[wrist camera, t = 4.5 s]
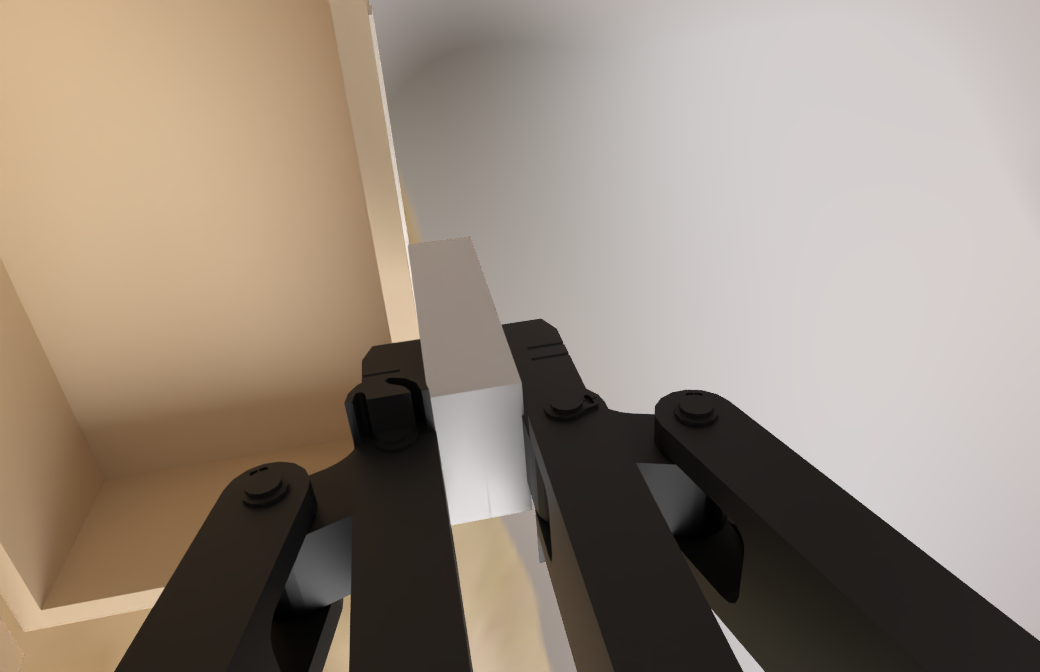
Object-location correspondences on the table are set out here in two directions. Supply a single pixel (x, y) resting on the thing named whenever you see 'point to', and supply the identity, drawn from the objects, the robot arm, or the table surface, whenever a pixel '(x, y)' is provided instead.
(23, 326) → the open box
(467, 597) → the table surface
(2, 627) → the lid
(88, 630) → the table surface
